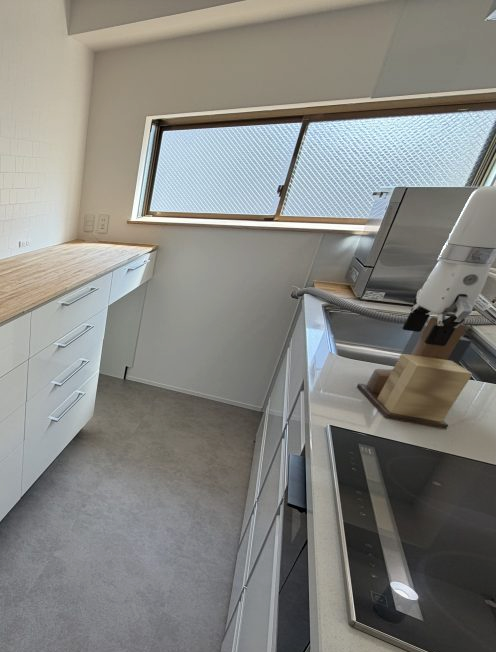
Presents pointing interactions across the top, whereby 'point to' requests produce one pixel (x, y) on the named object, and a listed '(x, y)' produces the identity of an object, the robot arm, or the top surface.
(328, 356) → the top surface
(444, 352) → the brown l-shaped piece
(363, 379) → the top surface
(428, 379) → the wood cube on plate
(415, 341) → the grey books
